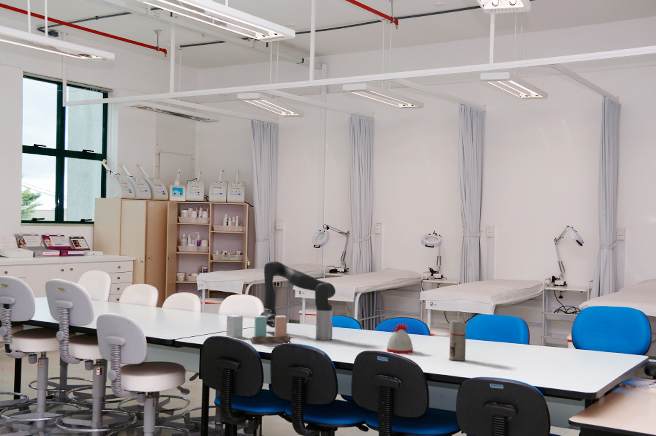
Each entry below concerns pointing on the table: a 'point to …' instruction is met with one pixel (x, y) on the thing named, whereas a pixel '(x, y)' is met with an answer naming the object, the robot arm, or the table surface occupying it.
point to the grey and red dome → (400, 341)
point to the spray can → (457, 340)
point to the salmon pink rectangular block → (280, 326)
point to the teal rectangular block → (260, 326)
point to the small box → (234, 325)
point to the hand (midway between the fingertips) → (276, 324)
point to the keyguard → (270, 339)
